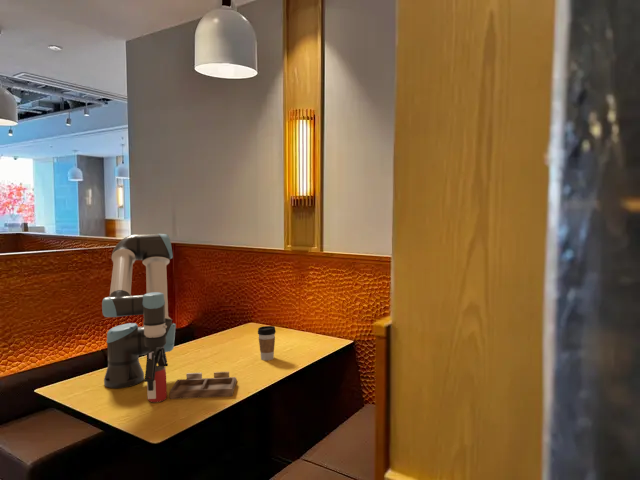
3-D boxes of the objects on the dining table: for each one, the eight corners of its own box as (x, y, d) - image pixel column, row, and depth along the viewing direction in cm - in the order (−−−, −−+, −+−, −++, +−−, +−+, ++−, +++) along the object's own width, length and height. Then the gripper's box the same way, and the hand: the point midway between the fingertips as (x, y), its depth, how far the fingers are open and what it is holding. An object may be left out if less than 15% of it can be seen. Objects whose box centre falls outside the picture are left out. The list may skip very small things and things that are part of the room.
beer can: (147, 404, 162) (146, 372, 162) (149, 397, 169) (147, 366, 168) (166, 402, 164) (165, 370, 163) (167, 395, 171) (166, 364, 170)
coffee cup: (273, 361, 206) (272, 329, 205) (255, 360, 208) (255, 329, 207) (278, 356, 215) (277, 325, 214) (261, 355, 216) (261, 324, 215)
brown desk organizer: (170, 398, 167) (169, 388, 167) (179, 383, 182) (179, 373, 182) (232, 396, 169) (231, 385, 168) (236, 380, 184) (236, 371, 184)
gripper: (155, 344, 153) (158, 404, 154) (173, 325, 178) (175, 378, 179) (133, 345, 152) (135, 405, 154) (154, 326, 177) (156, 378, 178)
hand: (157, 391), depth 166 cm, fingers open, 13 cm apart
